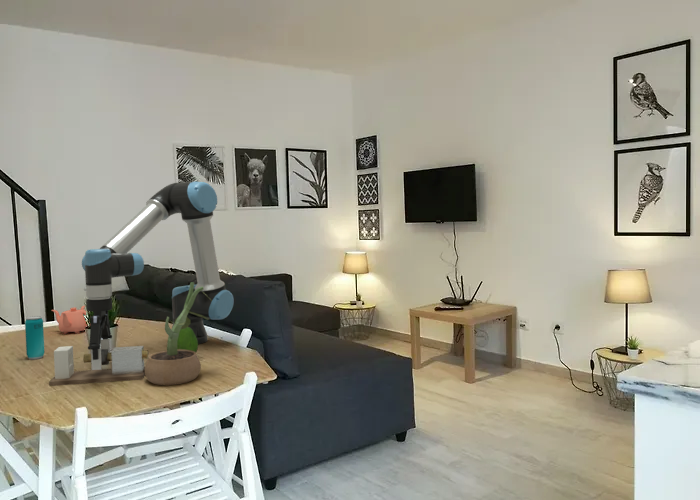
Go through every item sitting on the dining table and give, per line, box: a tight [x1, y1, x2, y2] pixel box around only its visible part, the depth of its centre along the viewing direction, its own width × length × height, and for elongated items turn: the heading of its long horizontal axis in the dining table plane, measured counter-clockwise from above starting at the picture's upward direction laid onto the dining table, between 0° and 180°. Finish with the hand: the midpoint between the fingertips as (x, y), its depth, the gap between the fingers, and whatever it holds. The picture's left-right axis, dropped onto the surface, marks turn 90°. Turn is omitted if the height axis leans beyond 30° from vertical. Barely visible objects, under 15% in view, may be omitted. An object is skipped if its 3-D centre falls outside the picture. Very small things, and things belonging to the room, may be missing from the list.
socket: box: [53, 345, 75, 379], centre depth 178 cm, size 4×6×10 cm, turn 13°
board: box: [48, 366, 146, 386], centre depth 181 cm, size 27×11×1 cm, turn 103°
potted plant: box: [144, 281, 212, 386], centre depth 179 cm, size 22×18×30 cm
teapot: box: [51, 305, 87, 335], centre depth 253 cm, size 14×14×11 cm
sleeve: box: [110, 345, 145, 375], centre depth 182 cm, size 9×5×8 cm, turn 103°
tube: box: [83, 349, 149, 366], centre depth 182 cm, size 19×5×5 cm, turn 103°
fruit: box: [177, 327, 199, 353], centre depth 203 cm, size 8×8×12 cm
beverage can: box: [24, 315, 45, 360], centre depth 206 cm, size 6×6×15 cm
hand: (101, 364), depth 181 cm, fingers open, 13 cm apart
